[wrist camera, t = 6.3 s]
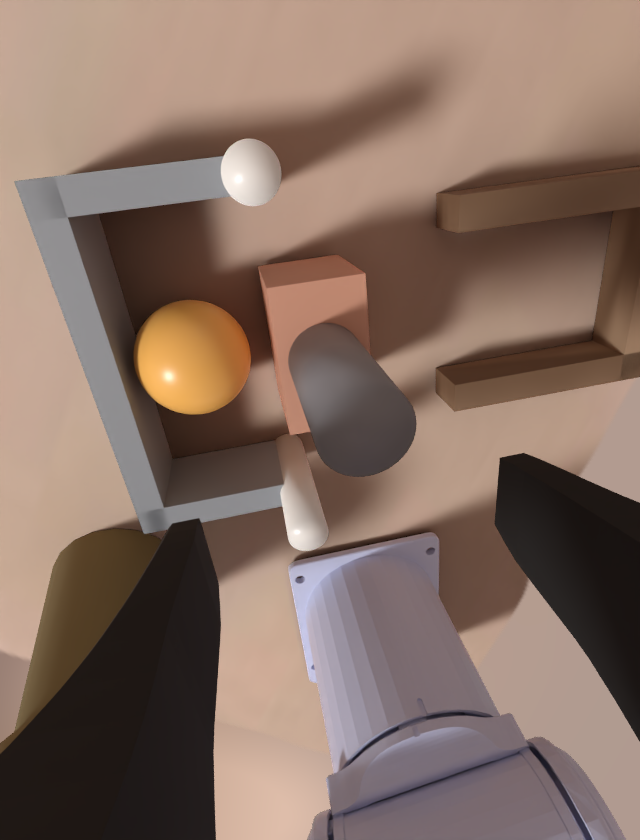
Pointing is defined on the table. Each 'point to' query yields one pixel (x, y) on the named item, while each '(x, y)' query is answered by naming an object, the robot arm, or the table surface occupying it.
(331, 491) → the table surface
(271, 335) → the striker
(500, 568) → the table surface
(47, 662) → the olive green tapered cylinder
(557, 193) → the rail frame
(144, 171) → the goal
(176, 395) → the ball
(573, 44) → the table surface
